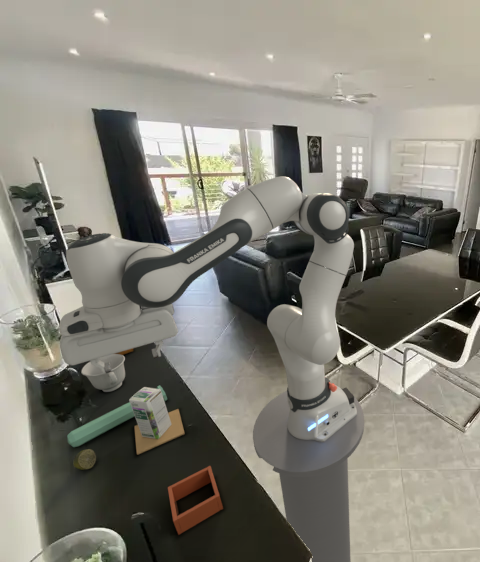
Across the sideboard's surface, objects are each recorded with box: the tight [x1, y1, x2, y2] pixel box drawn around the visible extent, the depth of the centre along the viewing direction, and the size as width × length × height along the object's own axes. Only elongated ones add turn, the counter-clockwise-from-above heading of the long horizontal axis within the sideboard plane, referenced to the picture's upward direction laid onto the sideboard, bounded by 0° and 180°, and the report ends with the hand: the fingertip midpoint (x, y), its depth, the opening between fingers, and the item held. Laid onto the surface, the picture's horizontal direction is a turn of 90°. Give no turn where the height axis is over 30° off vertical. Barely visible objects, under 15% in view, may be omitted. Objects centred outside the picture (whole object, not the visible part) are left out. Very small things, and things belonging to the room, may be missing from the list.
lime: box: [72, 448, 97, 471], centre depth 87 cm, size 4×5×5 cm
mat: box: [134, 408, 185, 455], centre depth 99 cm, size 12×12×1 cm
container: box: [66, 384, 168, 448], centre depth 101 cm, size 6×6×25 cm
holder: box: [167, 465, 224, 536], centre depth 78 cm, size 10×10×5 cm
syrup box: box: [128, 386, 172, 439], centre depth 95 cm, size 6×6×14 cm
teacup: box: [80, 354, 126, 393], centre depth 113 cm, size 12×15×10 cm
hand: (133, 363), depth 74 cm, fingers open, 8 cm apart
